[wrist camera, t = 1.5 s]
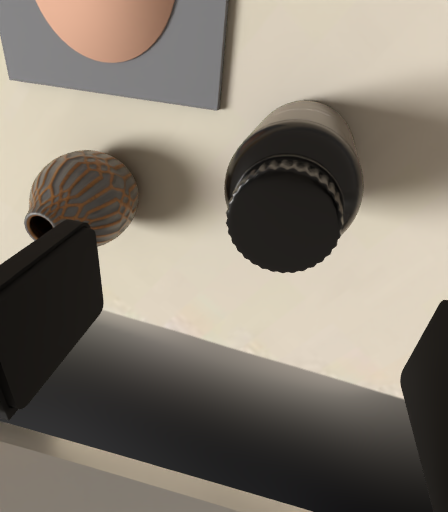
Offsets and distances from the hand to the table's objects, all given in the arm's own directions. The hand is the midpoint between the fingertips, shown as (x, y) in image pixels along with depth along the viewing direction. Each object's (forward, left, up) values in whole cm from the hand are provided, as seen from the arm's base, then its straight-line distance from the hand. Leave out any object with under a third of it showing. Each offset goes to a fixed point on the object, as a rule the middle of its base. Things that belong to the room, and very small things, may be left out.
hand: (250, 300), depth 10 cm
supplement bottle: (-1, 0, -18) cm, 18 cm away
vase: (+14, +5, -18) cm, 23 cm away
